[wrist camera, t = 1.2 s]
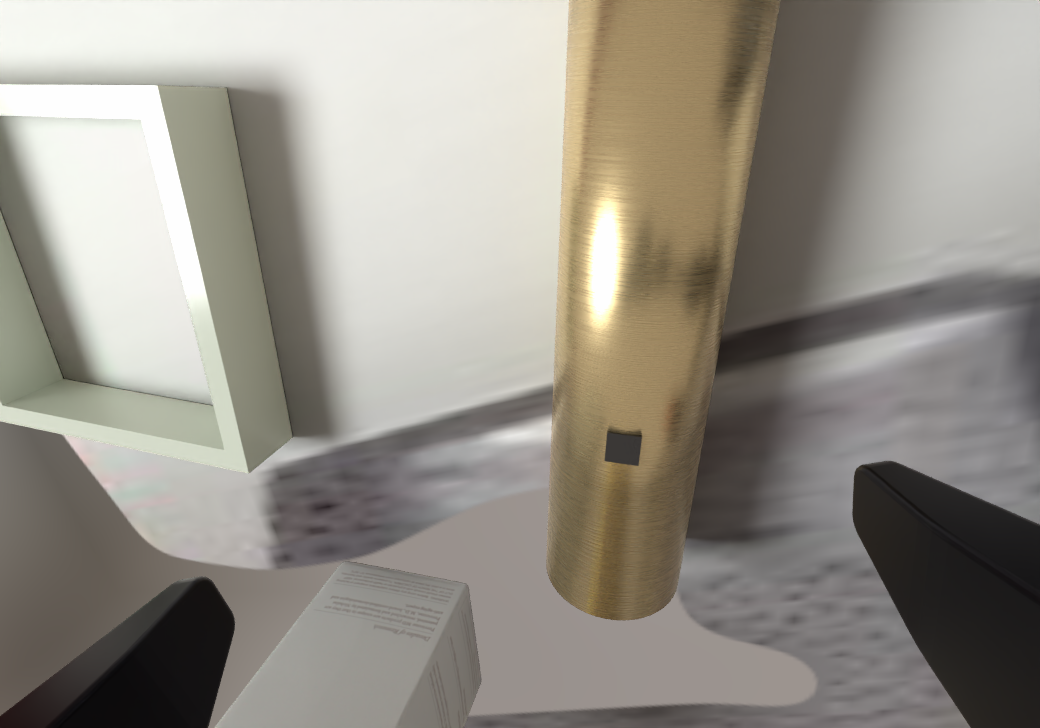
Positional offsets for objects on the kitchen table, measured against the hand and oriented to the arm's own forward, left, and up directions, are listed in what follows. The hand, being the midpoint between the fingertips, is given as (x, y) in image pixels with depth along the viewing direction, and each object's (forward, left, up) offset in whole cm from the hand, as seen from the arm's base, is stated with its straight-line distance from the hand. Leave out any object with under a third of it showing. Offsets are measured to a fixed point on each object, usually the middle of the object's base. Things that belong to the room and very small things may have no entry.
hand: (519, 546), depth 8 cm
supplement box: (+10, +20, -13) cm, 26 cm away
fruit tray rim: (+23, +2, -13) cm, 26 cm away
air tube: (0, 0, -13) cm, 14 cm away
